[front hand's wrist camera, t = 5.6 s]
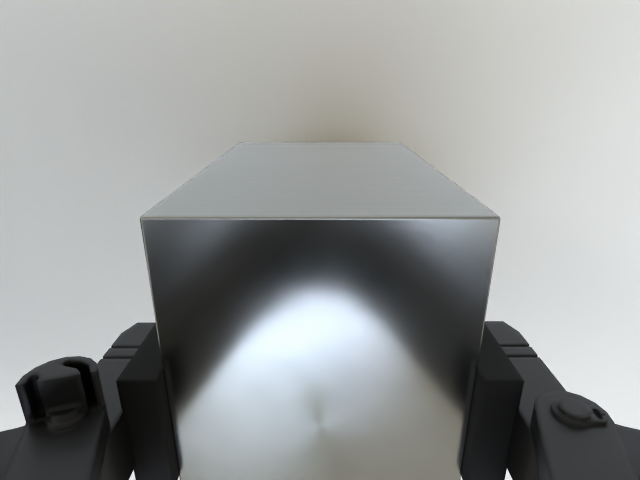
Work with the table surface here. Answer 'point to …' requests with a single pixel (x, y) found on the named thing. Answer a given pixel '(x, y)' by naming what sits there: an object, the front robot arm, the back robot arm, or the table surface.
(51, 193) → the table surface
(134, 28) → the table surface
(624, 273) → the table surface
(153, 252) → the block
